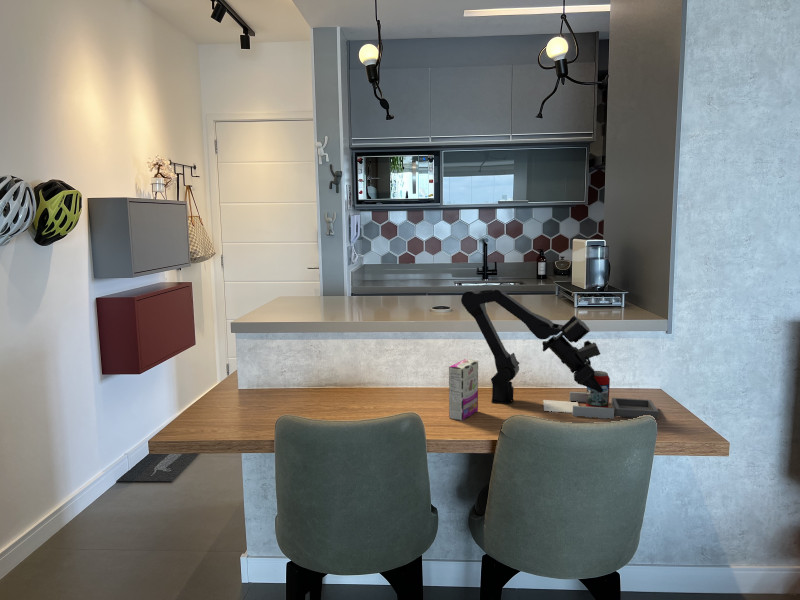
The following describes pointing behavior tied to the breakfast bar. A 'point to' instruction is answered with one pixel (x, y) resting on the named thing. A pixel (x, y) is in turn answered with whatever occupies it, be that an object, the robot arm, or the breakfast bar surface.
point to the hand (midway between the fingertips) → (600, 387)
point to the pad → (559, 406)
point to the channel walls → (589, 411)
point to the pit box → (633, 407)
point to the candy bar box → (463, 389)
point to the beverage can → (597, 397)
